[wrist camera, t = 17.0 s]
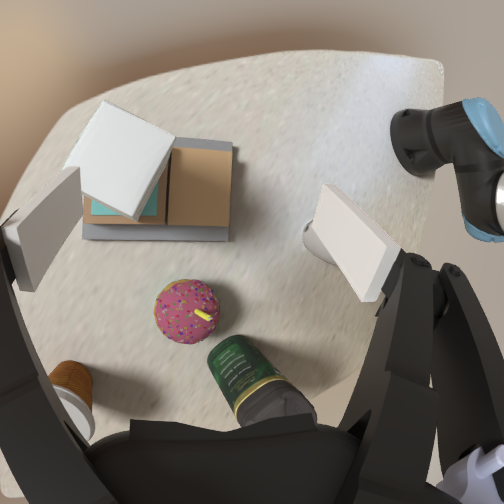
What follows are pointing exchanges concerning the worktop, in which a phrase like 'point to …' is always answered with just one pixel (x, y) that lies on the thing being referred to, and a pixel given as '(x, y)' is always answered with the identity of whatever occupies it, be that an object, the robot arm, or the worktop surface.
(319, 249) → the cup
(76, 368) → the disposable coffee cup
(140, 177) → the supplement box
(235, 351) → the coffee jar
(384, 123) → the worktop surface
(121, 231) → the build base
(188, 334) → the cupcake
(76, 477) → the robot arm
